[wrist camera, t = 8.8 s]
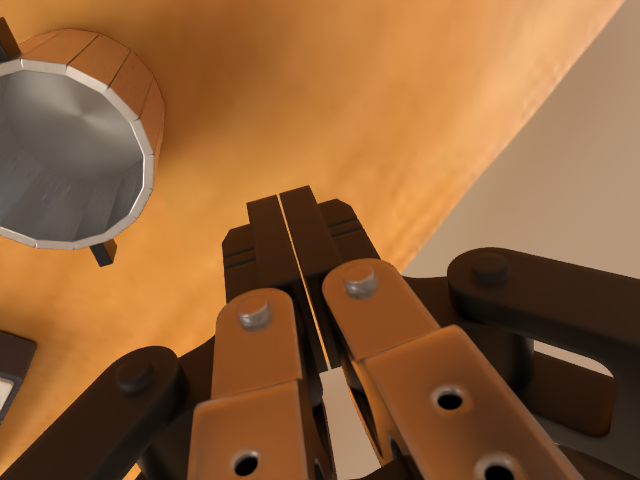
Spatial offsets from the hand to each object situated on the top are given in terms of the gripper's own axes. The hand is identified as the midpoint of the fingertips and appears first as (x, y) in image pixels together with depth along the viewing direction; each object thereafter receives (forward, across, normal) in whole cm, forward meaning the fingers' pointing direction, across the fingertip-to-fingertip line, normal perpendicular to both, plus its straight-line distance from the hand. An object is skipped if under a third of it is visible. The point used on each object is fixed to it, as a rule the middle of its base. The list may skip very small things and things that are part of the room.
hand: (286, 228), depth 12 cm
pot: (+18, +5, +1) cm, 19 cm away
